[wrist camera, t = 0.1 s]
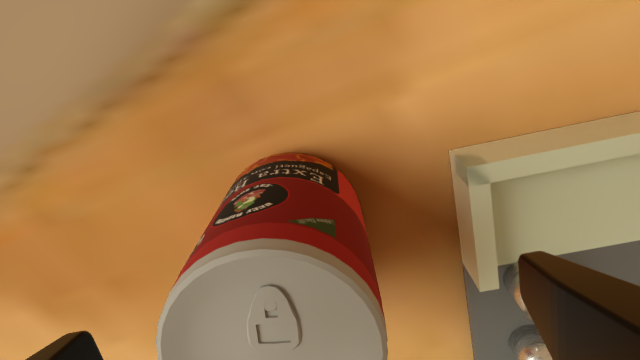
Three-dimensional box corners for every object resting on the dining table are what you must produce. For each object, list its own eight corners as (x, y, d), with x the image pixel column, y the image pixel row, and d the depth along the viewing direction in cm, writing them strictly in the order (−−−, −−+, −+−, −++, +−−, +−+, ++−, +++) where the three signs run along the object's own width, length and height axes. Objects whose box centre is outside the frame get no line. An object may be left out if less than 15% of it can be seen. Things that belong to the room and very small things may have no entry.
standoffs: (710, 380, 26) (750, 416, 24) (514, 410, 27) (532, 448, 25) (729, 222, 23) (778, 245, 20) (501, 263, 24) (521, 290, 21)
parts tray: (748, 209, 24) (807, 234, 21) (462, 262, 25) (480, 292, 22) (765, 85, 21) (833, 94, 18) (448, 150, 23) (466, 167, 20)
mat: (726, 374, 28) (741, 386, 27) (480, 412, 29) (485, 425, 28) (748, 209, 24) (766, 217, 23) (462, 262, 25) (467, 271, 24)
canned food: (336, 129, 22) (347, 216, 12) (378, 255, 25) (417, 418, 14) (203, 172, 23) (107, 289, 13) (257, 290, 26) (212, 467, 15)
